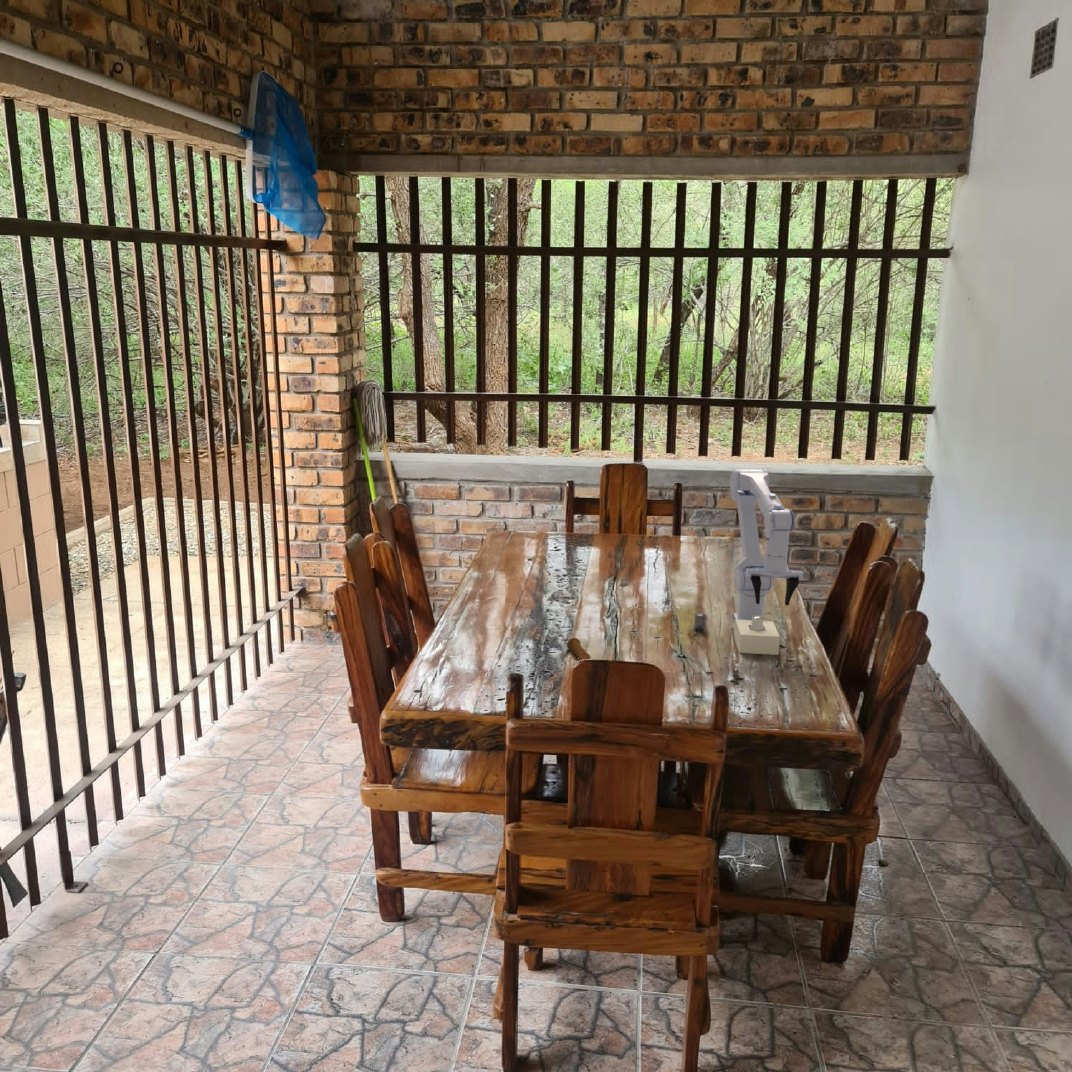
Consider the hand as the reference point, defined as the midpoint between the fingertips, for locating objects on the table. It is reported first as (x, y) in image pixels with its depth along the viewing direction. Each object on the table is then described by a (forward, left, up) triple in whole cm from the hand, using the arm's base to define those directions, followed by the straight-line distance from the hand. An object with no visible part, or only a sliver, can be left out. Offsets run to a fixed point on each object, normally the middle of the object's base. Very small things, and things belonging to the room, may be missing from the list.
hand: (772, 603), depth 256 cm
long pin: (+5, -4, -10) cm, 12 cm away
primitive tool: (+23, -48, -11) cm, 55 cm away
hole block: (+5, -4, -10) cm, 12 cm away
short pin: (-5, -18, -10) cm, 22 cm away
